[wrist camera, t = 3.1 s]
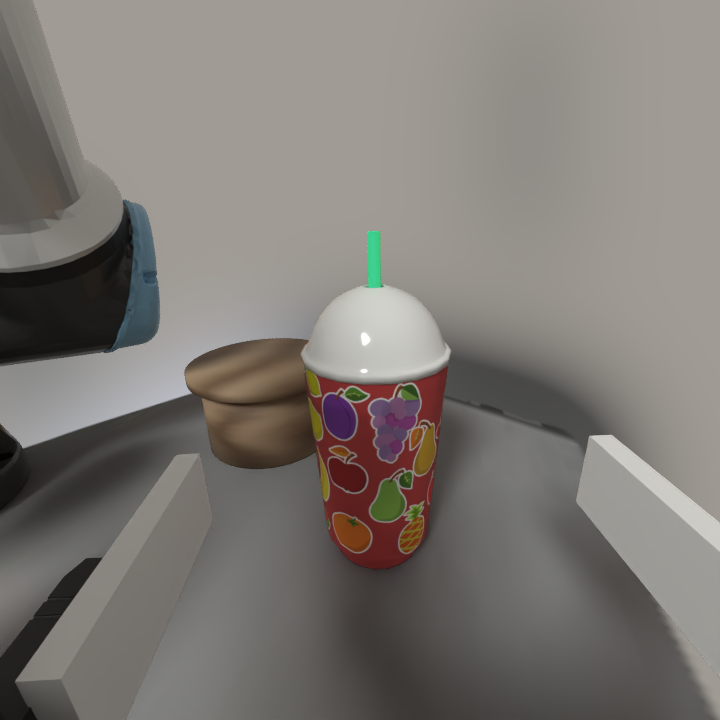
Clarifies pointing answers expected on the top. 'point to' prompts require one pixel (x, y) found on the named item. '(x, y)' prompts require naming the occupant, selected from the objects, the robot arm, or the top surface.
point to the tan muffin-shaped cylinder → (255, 402)
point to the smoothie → (376, 416)
